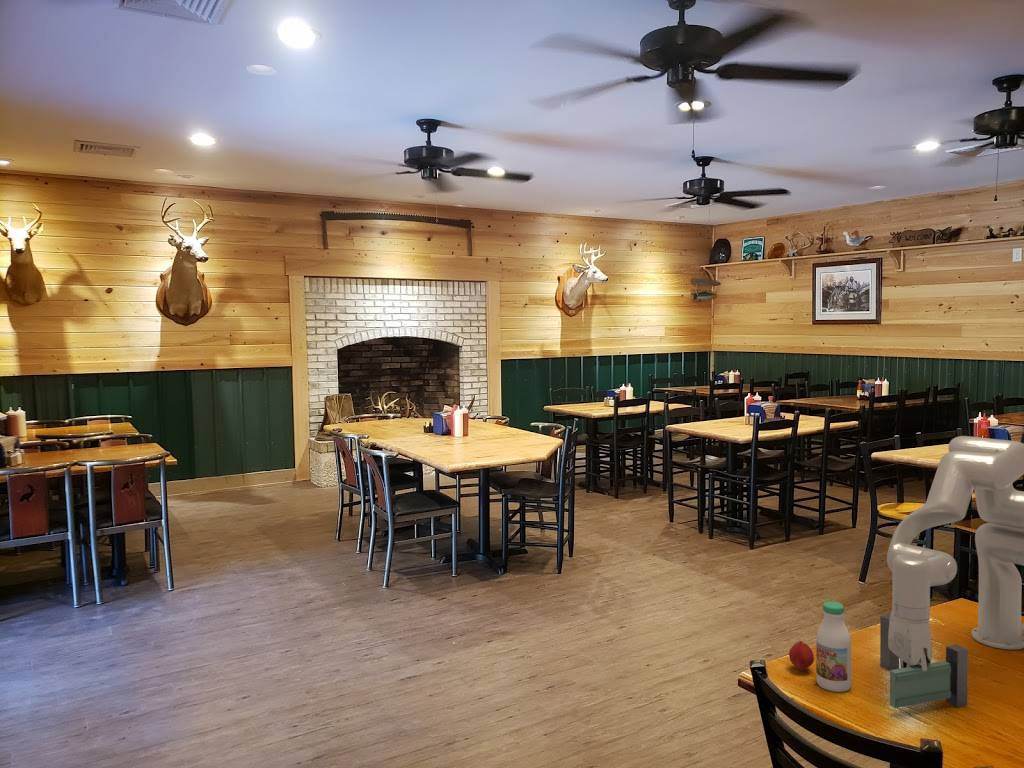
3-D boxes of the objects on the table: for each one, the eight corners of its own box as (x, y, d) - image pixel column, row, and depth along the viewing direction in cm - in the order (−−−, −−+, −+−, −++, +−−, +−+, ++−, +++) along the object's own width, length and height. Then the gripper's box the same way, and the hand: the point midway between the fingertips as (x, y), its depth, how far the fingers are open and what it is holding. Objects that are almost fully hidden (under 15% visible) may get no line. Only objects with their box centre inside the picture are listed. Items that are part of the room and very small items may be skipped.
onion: (785, 665, 188) (784, 635, 187) (806, 664, 188) (806, 633, 188) (795, 676, 182) (795, 645, 181) (818, 674, 182) (818, 643, 182)
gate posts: (889, 663, 187) (889, 613, 186) (967, 705, 166) (967, 649, 165) (880, 665, 186) (880, 615, 185) (957, 707, 165) (957, 651, 164)
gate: (944, 694, 167) (944, 660, 166) (951, 699, 165) (952, 664, 164) (889, 704, 163) (890, 670, 163) (896, 709, 162) (896, 674, 161)
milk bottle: (824, 674, 183) (823, 596, 181) (856, 684, 177) (856, 603, 175) (811, 685, 177) (810, 605, 176) (843, 696, 172) (843, 613, 170)
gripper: (876, 599, 174) (876, 673, 176) (914, 624, 160) (914, 705, 161) (907, 597, 175) (907, 671, 176) (947, 622, 160) (947, 703, 161)
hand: (910, 687), depth 169 cm, fingers closed
